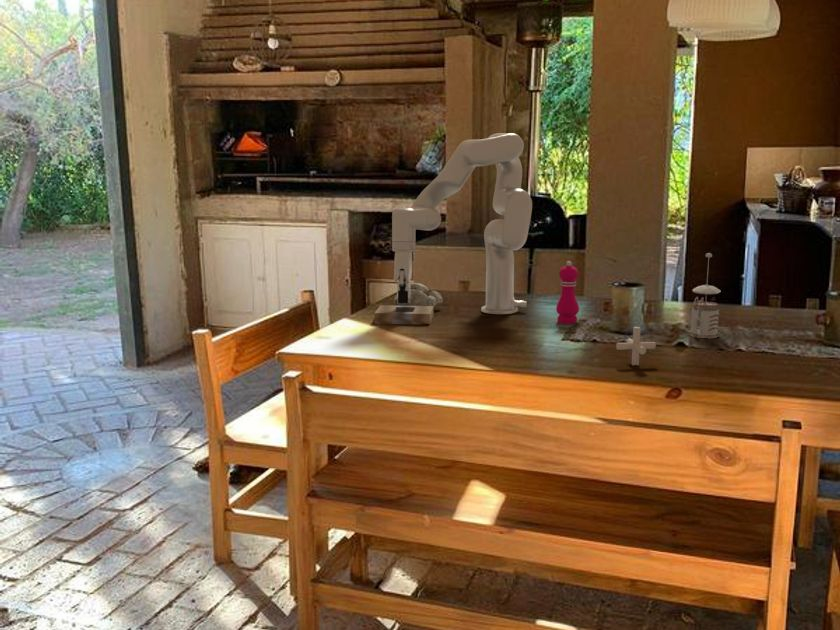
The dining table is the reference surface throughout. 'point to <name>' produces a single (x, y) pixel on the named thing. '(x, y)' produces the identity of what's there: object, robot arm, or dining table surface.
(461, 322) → the dining table surface
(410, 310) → the frame
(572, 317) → the pepper mill
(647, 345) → the pipe connector
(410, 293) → the white glossy cylinder
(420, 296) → the mineral
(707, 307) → the french press
